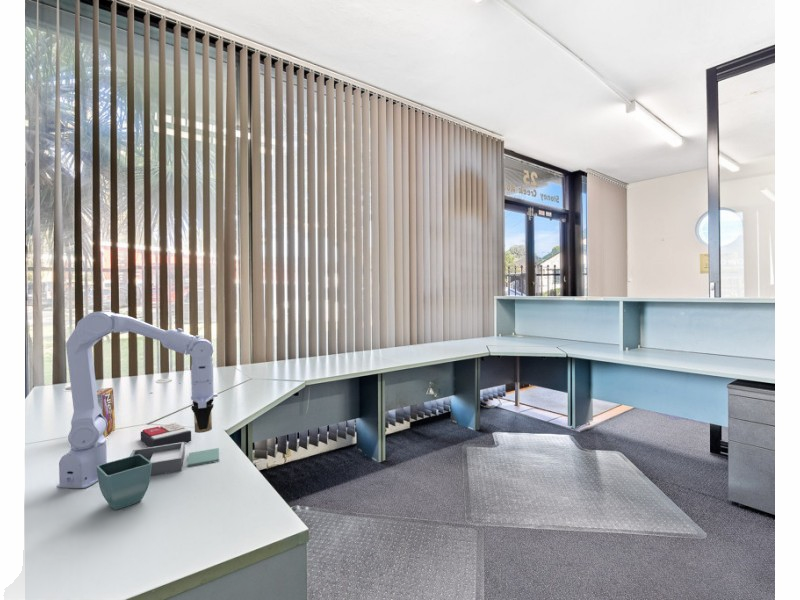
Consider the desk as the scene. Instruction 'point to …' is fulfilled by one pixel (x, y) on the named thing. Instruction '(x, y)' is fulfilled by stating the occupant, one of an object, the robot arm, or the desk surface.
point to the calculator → (165, 435)
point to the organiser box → (163, 457)
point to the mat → (203, 457)
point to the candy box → (107, 408)
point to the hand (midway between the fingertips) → (203, 426)
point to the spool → (203, 429)
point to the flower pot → (124, 480)
